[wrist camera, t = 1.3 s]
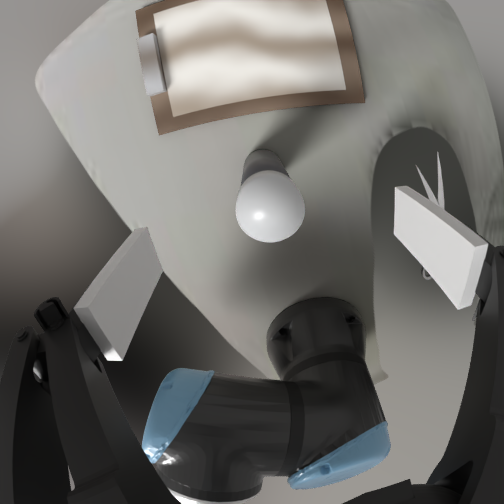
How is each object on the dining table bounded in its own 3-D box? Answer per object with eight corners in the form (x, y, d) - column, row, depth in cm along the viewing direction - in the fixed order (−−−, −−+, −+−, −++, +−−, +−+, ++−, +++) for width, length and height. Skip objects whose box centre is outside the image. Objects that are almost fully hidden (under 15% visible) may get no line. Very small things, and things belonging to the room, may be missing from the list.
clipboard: (361, 102, 25) (369, 102, 23) (161, 134, 27) (155, 136, 25) (333, -19, 18) (338, -26, 16) (138, 13, 20) (131, 7, 18)
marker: (284, 182, 30) (308, 236, 17) (247, 188, 30) (243, 247, 18) (278, 145, 28) (300, 172, 15) (239, 151, 28) (229, 183, 16)
